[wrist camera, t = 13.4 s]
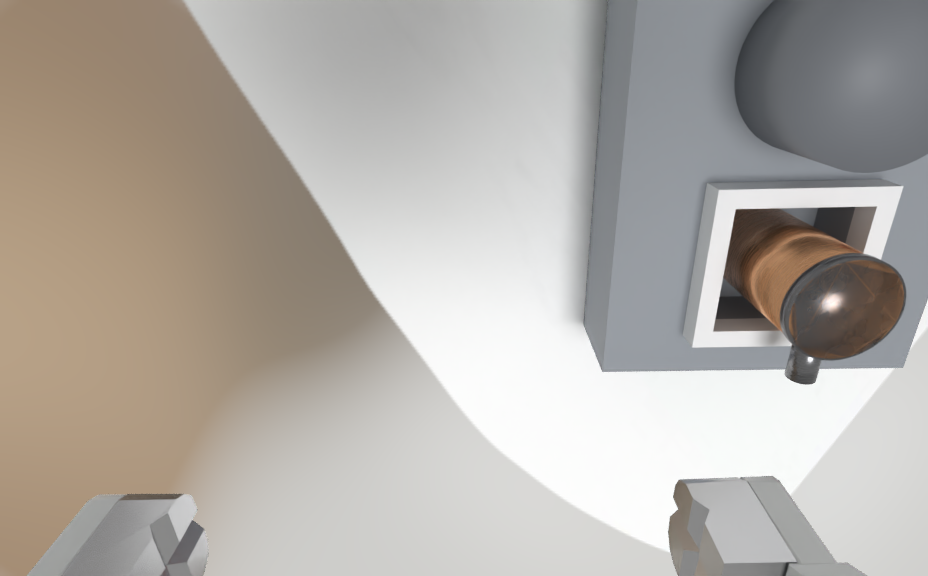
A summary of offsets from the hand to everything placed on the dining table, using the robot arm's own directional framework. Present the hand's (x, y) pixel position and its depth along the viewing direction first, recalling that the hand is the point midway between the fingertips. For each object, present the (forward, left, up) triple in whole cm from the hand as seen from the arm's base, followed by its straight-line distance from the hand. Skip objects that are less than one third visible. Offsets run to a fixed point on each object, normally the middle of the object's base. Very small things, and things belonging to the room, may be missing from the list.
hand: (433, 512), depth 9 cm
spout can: (+5, +17, -24) cm, 30 cm away
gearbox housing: (0, +17, -27) cm, 32 cm away
